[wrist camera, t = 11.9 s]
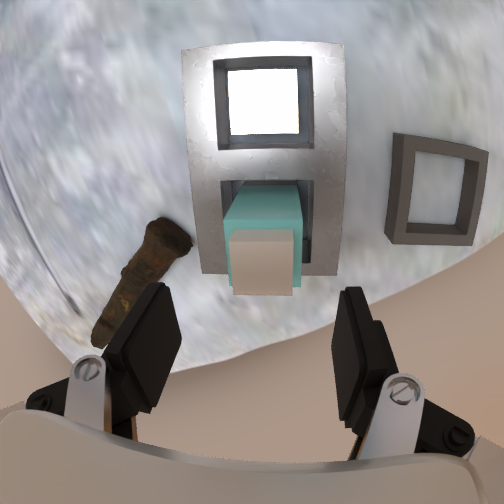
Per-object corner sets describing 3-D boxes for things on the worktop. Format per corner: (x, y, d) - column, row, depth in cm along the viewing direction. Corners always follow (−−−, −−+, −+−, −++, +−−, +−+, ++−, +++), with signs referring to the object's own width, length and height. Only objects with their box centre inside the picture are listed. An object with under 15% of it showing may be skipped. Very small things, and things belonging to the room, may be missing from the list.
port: (333, 55, 17) (348, 39, 12) (329, 250, 24) (339, 285, 19) (198, 60, 18) (174, 46, 13) (213, 249, 25) (197, 282, 20)
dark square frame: (474, 147, 18) (488, 151, 16) (460, 235, 22) (471, 246, 20) (393, 132, 19) (404, 135, 17) (384, 232, 23) (392, 244, 21)
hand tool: (164, 208, 24) (141, 229, 20) (198, 238, 25) (181, 264, 21) (90, 313, 32) (72, 337, 28) (114, 333, 33) (98, 358, 29)
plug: (296, 180, 22) (305, 231, 13) (295, 228, 23) (301, 303, 15) (244, 181, 22) (216, 231, 13) (247, 228, 24) (224, 301, 15)
